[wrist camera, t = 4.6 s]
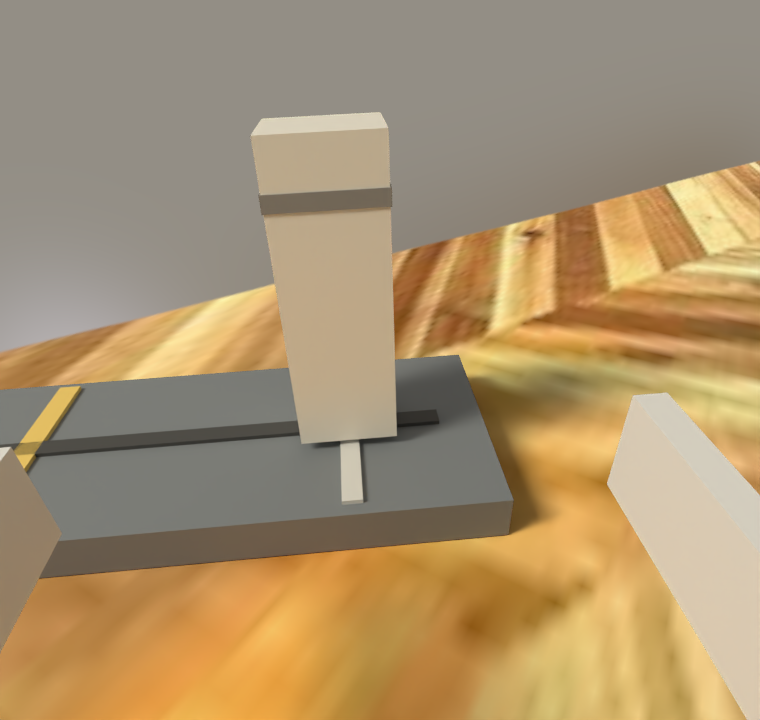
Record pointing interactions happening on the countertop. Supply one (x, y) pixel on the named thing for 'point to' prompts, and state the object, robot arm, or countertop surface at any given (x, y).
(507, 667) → the countertop surface
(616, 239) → the countertop surface
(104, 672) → the countertop surface
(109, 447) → the fader console
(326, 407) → the fader knob
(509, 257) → the countertop surface
